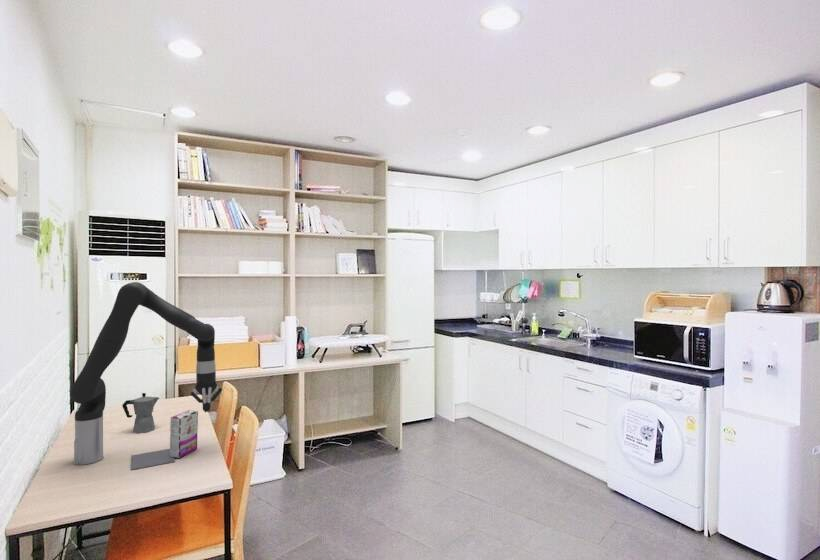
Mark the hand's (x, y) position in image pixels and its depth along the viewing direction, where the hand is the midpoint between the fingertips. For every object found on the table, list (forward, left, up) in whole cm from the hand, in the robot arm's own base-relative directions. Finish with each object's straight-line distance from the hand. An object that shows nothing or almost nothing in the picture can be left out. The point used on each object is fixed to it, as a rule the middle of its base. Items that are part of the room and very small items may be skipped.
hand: (206, 411), depth 192 cm
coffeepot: (-24, +42, -17) cm, 51 cm away
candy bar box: (-9, 0, -16) cm, 19 cm away
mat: (-20, 0, -16) cm, 26 cm away
